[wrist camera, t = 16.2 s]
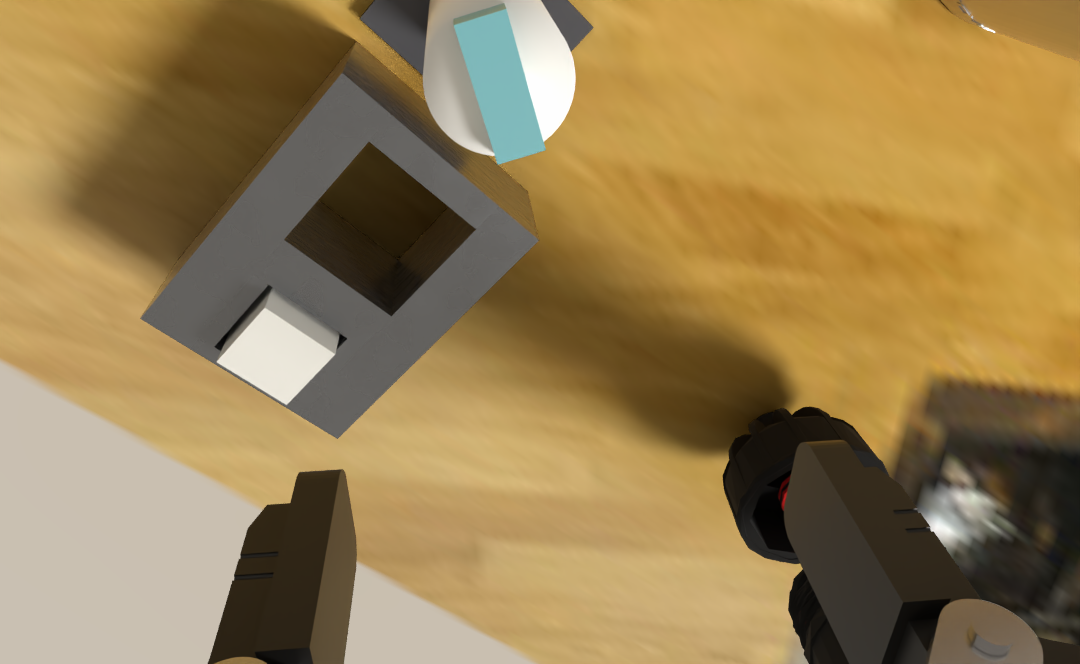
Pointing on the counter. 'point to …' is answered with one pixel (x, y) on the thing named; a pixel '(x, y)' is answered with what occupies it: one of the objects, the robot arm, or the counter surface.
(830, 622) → the robot arm
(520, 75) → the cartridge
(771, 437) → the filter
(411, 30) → the mat
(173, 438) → the counter surface
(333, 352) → the off-white cube
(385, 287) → the housing
